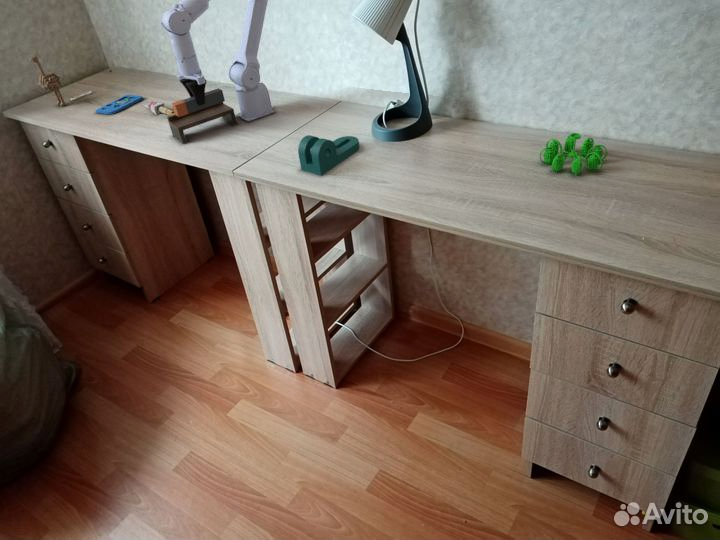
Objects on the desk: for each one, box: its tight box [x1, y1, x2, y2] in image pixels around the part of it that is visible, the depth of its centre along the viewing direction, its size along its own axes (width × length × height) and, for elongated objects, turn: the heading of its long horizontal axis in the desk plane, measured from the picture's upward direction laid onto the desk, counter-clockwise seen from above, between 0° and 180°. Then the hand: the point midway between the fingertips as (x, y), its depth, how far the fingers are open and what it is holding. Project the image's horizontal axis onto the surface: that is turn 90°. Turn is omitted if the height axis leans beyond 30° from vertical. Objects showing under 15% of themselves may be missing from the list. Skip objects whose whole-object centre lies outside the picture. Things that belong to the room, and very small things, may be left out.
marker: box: [171, 87, 226, 117], centre depth 164 cm, size 15×3×4 cm, turn 127°
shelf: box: [166, 102, 238, 144], centre depth 169 cm, size 18×8×6 cm, turn 127°
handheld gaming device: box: [95, 94, 144, 115], centre depth 196 cm, size 8×1×15 cm
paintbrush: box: [141, 101, 175, 116], centre depth 186 cm, size 4×3×20 cm
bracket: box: [297, 134, 360, 177], centre depth 144 cm, size 18×7×8 cm, turn 143°
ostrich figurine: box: [29, 55, 93, 108], centre depth 201 cm, size 17×7×18 cm, turn 144°
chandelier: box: [539, 132, 609, 176], centre depth 129 cm, size 15×15×7 cm
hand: (199, 103), depth 164 cm, fingers closed on marker, 2 cm apart
